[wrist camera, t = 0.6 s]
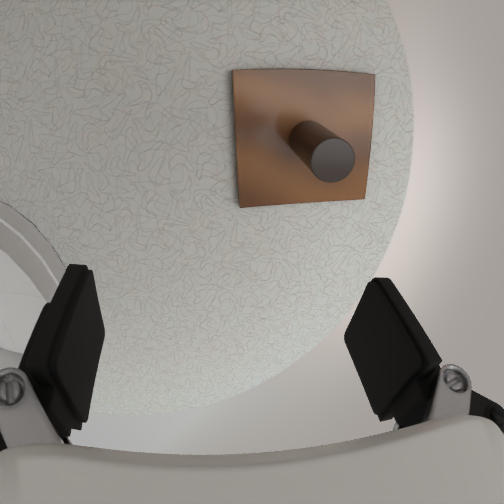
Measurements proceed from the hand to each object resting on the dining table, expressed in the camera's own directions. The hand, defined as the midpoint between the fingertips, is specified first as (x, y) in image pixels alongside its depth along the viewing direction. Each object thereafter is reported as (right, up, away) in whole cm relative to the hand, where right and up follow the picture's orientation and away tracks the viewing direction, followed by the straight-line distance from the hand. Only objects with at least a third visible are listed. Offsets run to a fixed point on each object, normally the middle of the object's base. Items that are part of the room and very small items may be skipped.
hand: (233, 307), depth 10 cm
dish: (-29, -1, +17) cm, 33 cm away
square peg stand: (+5, +11, +14) cm, 18 cm away
